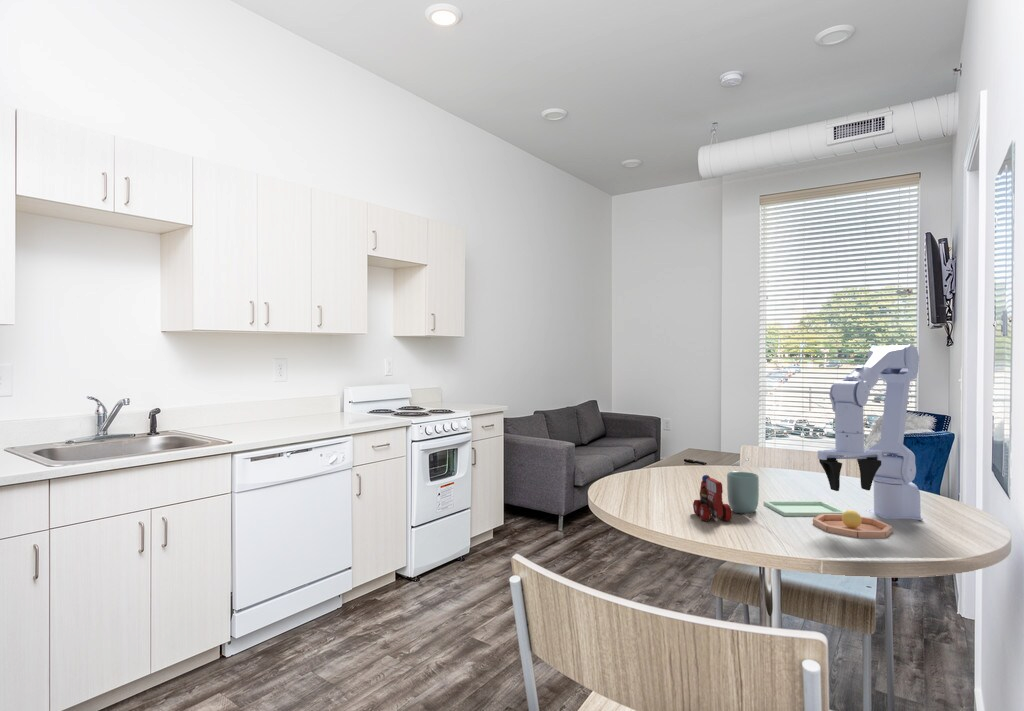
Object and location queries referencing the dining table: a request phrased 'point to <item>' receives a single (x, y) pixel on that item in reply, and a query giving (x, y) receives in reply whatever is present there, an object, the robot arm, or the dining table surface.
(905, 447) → the robot arm
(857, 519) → the ball
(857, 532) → the dish
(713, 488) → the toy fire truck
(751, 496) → the cup
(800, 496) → the dining table surface
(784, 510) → the tray
